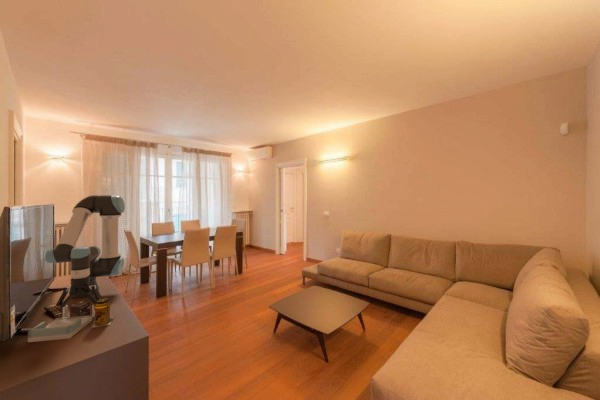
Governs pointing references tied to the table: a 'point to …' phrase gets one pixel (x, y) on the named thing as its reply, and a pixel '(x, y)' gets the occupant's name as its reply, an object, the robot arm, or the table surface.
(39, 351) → the table surface
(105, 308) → the condiment
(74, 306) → the box
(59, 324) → the tray
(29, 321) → the table surface
